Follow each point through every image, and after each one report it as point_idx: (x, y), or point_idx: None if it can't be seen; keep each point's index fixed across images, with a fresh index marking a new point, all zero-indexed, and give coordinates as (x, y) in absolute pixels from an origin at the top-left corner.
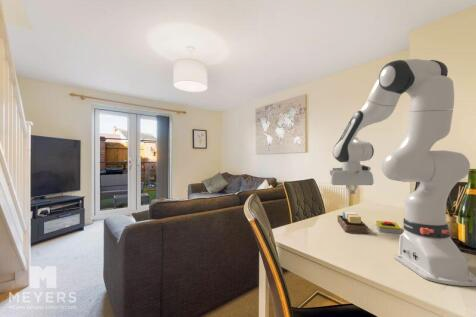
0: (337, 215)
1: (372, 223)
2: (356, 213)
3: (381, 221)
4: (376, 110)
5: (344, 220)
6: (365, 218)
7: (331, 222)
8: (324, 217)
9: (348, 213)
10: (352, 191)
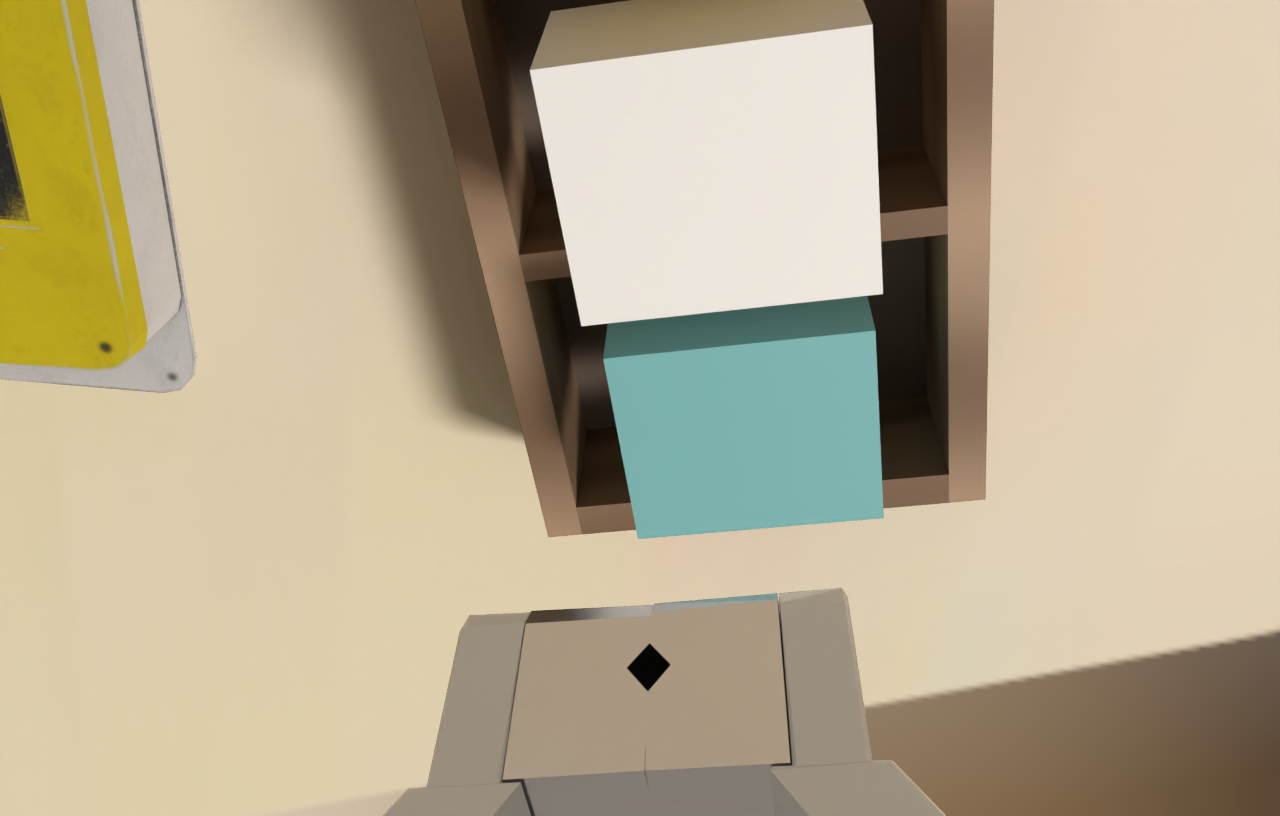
0: (984, 493)
1: (257, 434)
2: (553, 167)
3: (27, 331)
4: None
5: None
6: (381, 705)
7: (1128, 282)
8: (1187, 607)
9: (811, 96)
10: (624, 707)
